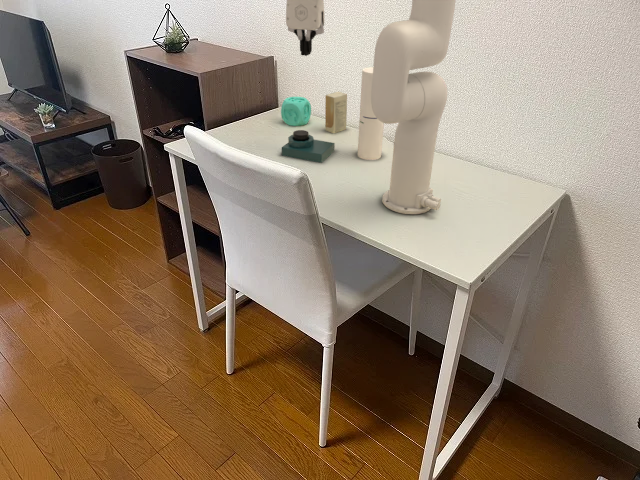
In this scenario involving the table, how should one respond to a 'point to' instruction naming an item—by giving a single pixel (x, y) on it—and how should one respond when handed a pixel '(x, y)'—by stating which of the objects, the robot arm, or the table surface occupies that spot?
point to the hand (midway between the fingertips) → (305, 54)
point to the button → (300, 135)
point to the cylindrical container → (369, 122)
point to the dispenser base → (308, 149)
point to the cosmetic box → (335, 112)
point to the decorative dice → (296, 111)
